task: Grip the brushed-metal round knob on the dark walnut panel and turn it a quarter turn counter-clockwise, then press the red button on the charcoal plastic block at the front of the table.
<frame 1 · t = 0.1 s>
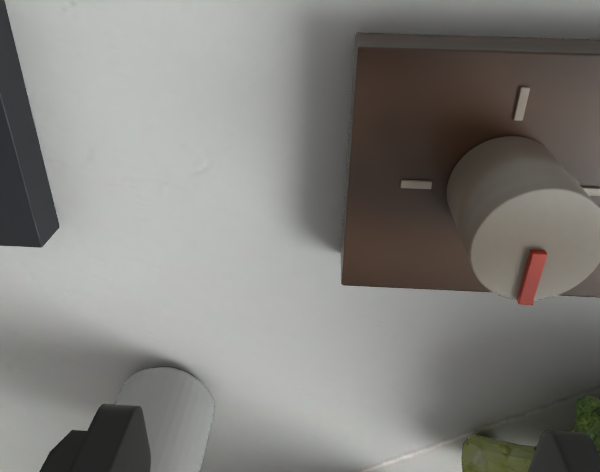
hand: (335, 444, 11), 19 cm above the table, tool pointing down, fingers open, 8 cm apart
panel: (486, 161, 28), on the table
vegetable: (565, 423, 37), on the table
knob: (519, 216, 23), point 6 cm above the table, hinge at 0.0°
beverage can: (171, 391, 38), on the table
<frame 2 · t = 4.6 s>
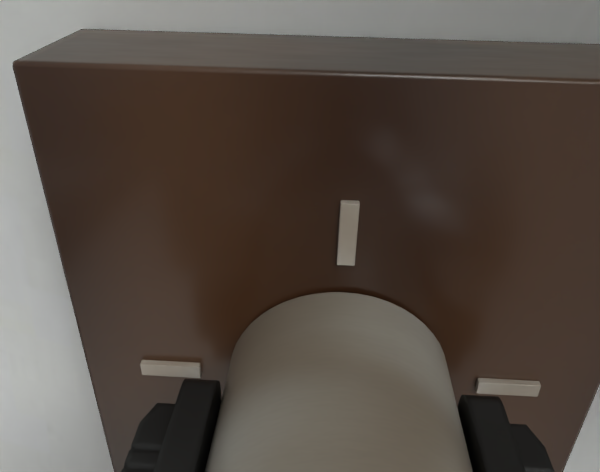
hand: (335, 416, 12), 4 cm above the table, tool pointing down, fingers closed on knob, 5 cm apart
panel: (337, 297, 15), on the table
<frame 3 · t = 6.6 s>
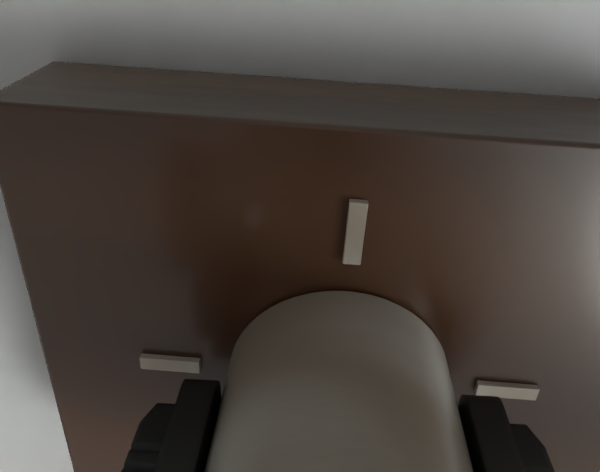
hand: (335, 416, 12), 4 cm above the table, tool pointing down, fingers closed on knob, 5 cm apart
panel: (337, 295, 15), on the table
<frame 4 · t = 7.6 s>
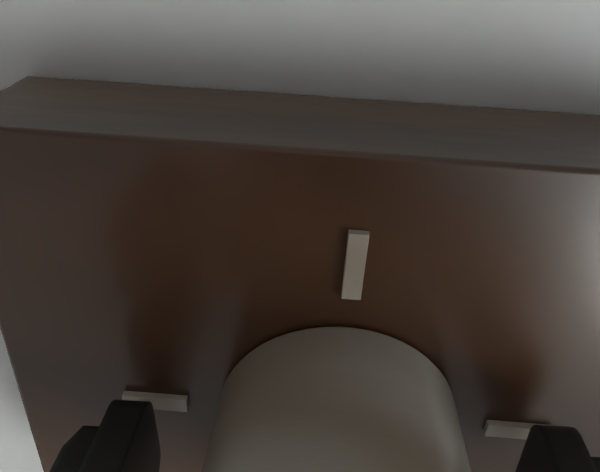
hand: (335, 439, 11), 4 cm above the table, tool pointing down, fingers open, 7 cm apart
panel: (335, 322, 14), on the table
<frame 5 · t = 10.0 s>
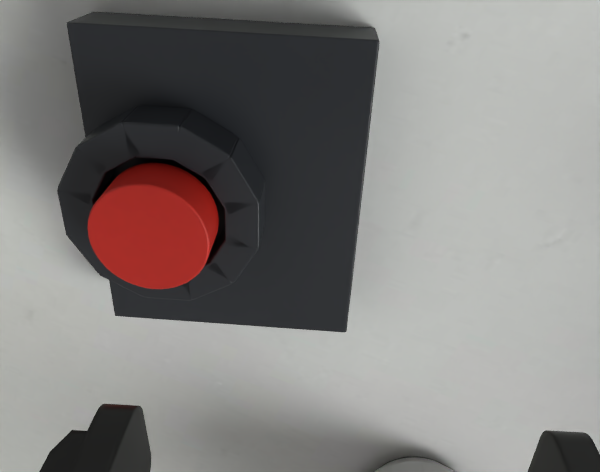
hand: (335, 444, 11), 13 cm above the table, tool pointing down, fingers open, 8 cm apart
button: (155, 226, 18), point 4 cm above the table, slide at 0.1 cm
button block: (235, 175, 22), on the table
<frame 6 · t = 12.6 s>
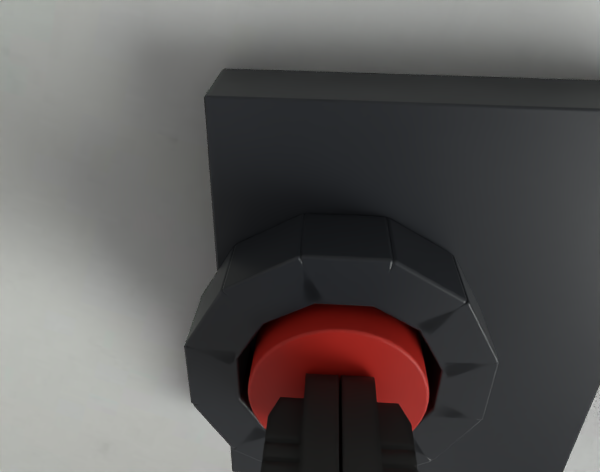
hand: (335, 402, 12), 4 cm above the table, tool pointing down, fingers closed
button: (337, 370, 13), point 4 cm above the table, slide at -0.8 cm, touching gripper
button block: (406, 284, 16), on the table
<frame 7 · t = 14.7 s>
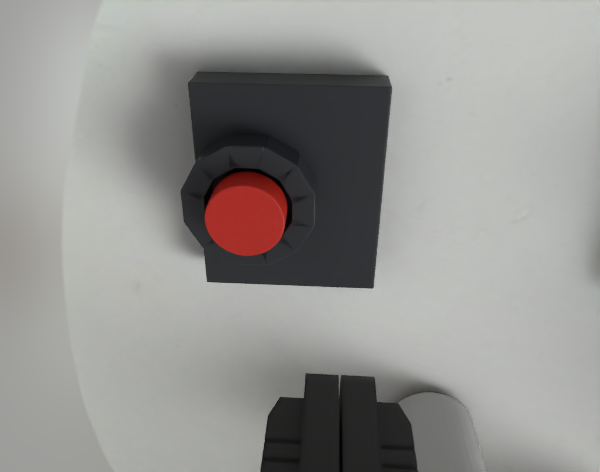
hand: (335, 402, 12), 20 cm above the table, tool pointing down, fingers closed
button: (246, 213, 28), point 4 cm above the table, slide at 0.1 cm
beverage can: (425, 414, 41), on the table
button block: (292, 178, 32), on the table
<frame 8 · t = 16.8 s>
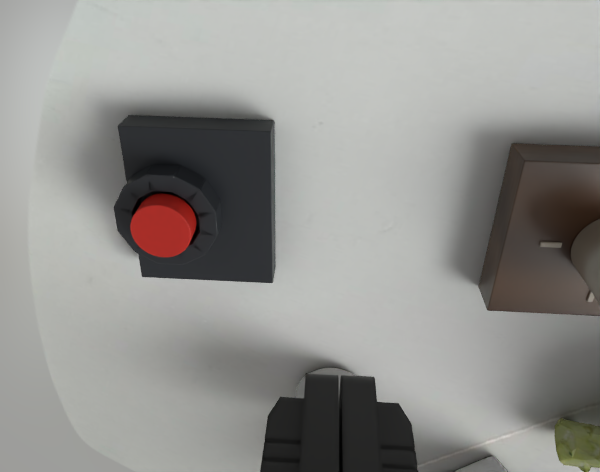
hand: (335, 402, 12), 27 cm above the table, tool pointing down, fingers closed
panel: (591, 224, 40), on the table
button: (163, 225, 36), point 4 cm above the table, slide at 0.1 cm
beverage can: (331, 386, 50), on the table
button block: (207, 196, 40), on the table
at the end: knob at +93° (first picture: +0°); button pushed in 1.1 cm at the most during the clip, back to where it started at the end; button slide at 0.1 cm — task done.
